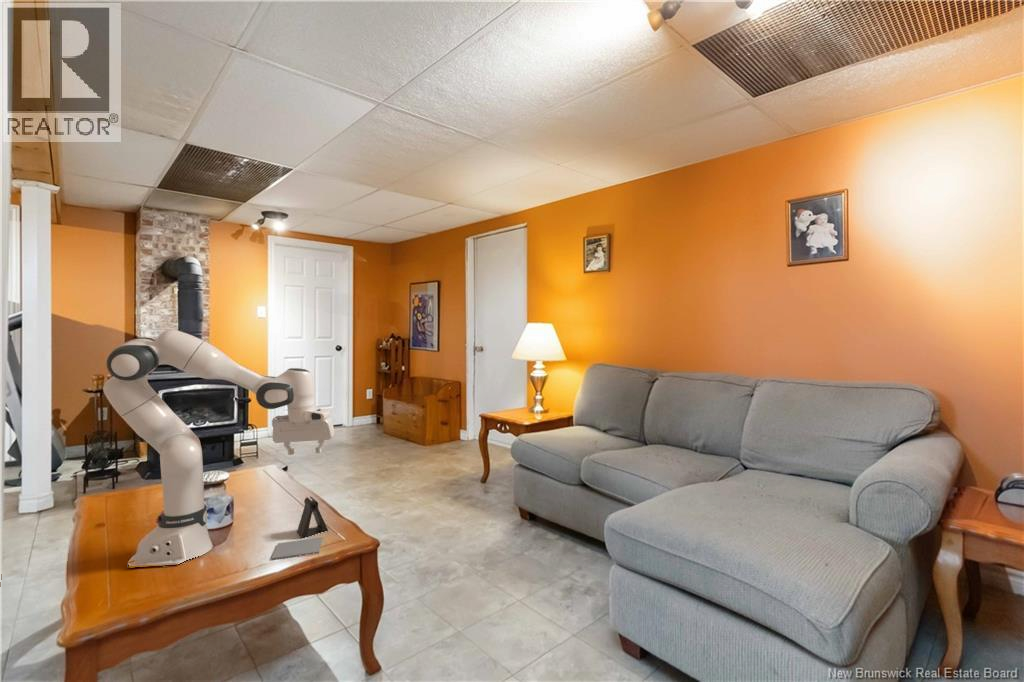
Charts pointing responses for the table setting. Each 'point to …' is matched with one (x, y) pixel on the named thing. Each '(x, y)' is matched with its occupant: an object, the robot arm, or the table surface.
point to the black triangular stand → (306, 517)
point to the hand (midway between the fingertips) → (305, 453)
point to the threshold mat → (297, 548)
